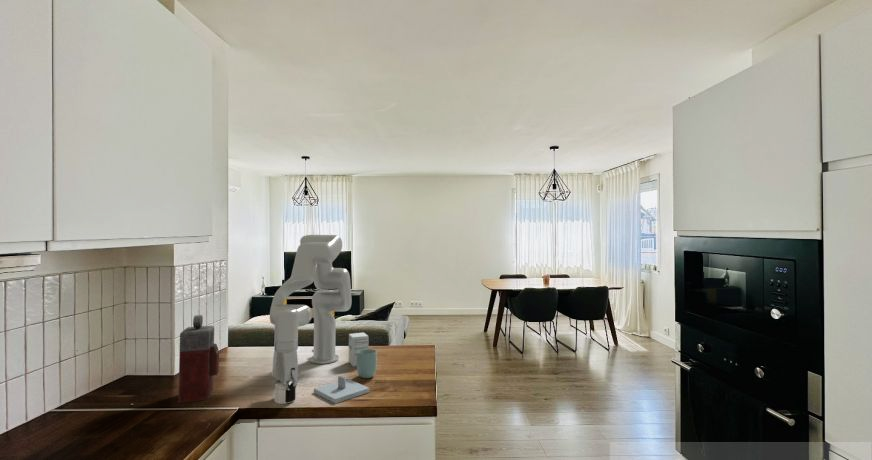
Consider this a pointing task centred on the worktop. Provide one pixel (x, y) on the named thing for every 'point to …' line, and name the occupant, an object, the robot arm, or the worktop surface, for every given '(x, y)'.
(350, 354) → the supplement box
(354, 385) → the stud plate
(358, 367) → the cup
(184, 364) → the red grey canister
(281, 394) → the cap
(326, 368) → the worktop surface
